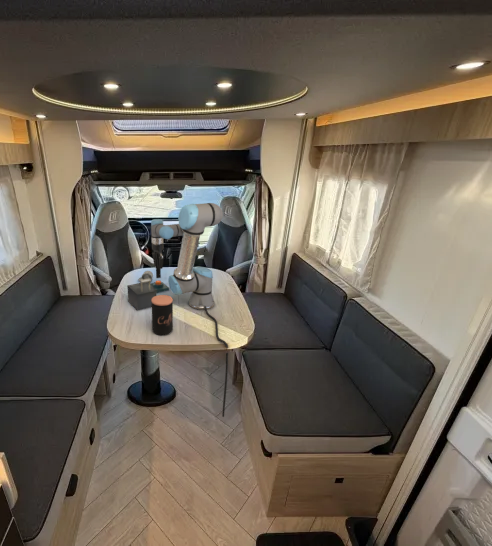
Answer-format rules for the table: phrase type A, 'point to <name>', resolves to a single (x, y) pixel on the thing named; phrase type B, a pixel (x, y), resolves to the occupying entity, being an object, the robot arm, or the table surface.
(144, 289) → the box lid
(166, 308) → the coffee jar
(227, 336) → the table surface
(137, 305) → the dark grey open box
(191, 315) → the table surface
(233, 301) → the table surface
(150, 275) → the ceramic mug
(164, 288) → the control block
